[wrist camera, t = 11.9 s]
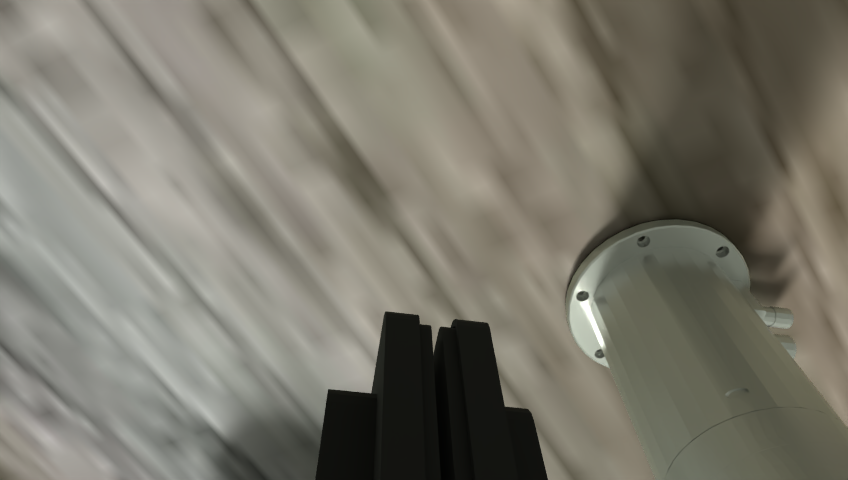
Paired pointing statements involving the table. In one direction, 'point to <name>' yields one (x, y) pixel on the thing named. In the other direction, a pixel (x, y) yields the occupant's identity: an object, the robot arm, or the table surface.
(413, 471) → the robot arm
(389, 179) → the table surface
